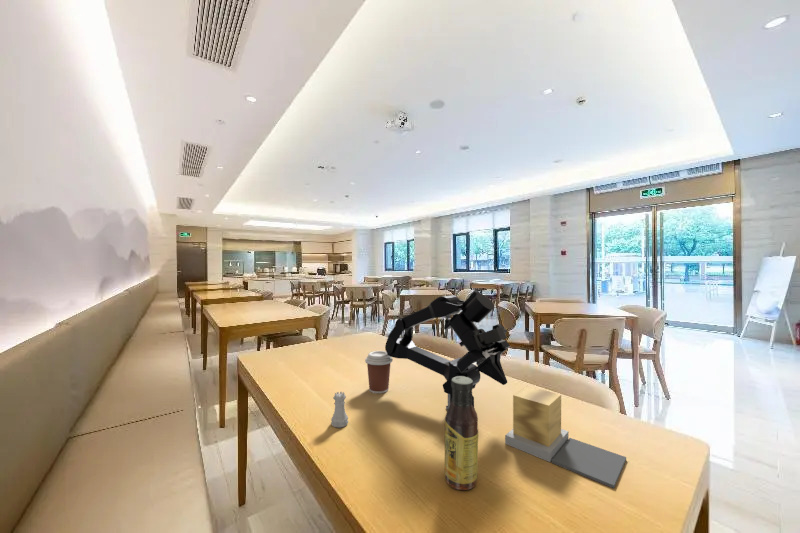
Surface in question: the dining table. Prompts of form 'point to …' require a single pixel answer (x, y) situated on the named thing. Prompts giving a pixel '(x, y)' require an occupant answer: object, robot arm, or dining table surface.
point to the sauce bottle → (461, 436)
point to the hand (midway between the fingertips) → (505, 383)
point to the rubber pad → (590, 462)
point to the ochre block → (537, 415)
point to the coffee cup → (378, 371)
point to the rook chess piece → (339, 411)
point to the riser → (537, 445)
